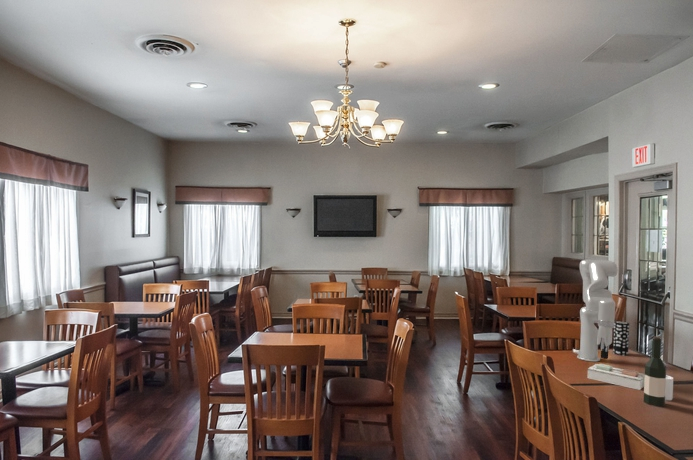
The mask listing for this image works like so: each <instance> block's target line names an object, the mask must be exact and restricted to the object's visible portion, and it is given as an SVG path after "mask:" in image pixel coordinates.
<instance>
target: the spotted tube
mask: <svg viewBox="0 0 693 460" xmlns="http://www.w3.org/2000/svg"><path fill="white" fill-rule="evenodd" d="M629 341H630V322H627V321H619V320H614V328H613V340H612V343H613V344H612V346H613V349H612V350H613V351H612V354H614V355H616V356H623V357H624V356H625V357H627V356H629V345H630V344H629V343H630V342H629Z"/></svg>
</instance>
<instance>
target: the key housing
mask: <svg viewBox="0 0 693 460" xmlns="http://www.w3.org/2000/svg"><path fill="white" fill-rule="evenodd" d="M598 364H599V363H595V364H593V365H592V366H589V367H588V368H587V376H586V377H587V379H589V380H593V381H599V382H603V383H607V384H613V385H616V386H619V387H620V386H621V387H625V388H630V389H633V390H638V391H641V390H642V389H644V380H645V372H639V371H638V376H637V377H633V376H628V375H624V374H622V371H623V370H624V369H625V368H624V369H623V368H620V367H616V366H615V367H613V366H612V370H611V372H609V371H605V370H600V369H596V366H597V365H598Z"/></svg>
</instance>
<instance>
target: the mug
mask: <svg viewBox="0 0 693 460" xmlns="http://www.w3.org/2000/svg"><path fill="white" fill-rule="evenodd" d="M673 398H674V377H673V376H670V375H667V374H666V389H665V401H673Z"/></svg>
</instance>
